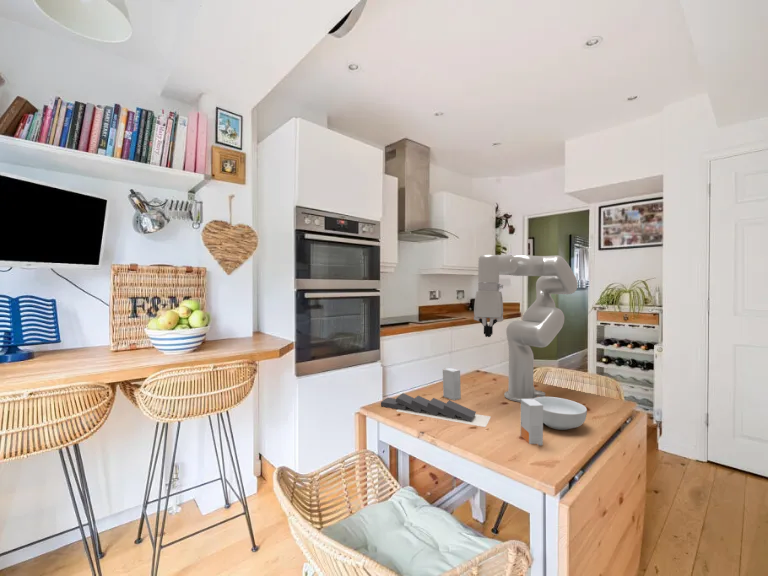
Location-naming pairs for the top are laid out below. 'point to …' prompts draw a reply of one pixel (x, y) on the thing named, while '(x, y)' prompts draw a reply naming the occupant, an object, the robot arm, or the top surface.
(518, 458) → the top surface
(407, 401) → the domino
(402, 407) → the domino
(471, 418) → the domino
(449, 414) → the domino
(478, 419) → the board
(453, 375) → the skincare box
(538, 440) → the skincare box
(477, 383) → the top surface
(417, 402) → the domino
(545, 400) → the cereal bowl
